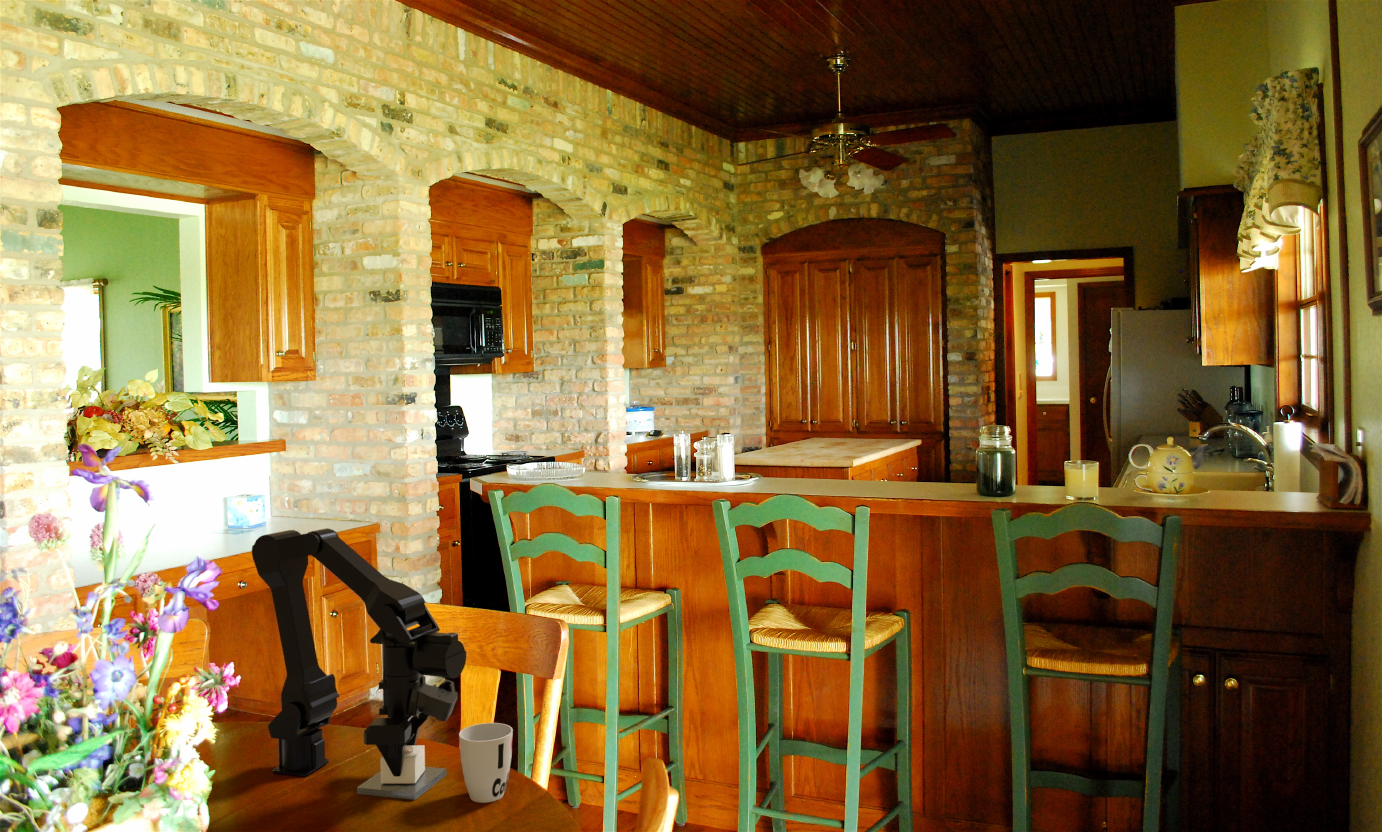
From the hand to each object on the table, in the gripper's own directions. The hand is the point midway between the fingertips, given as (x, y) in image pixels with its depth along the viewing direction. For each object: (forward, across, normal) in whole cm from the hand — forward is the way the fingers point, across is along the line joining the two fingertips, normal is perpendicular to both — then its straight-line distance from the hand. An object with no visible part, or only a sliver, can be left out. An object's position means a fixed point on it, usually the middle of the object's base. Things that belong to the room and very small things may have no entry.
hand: (402, 768), depth 156 cm
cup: (+3, -4, -14) cm, 15 cm away
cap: (+1, 0, 0) cm, 1 cm away
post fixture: (+2, 0, 0) cm, 2 cm away
